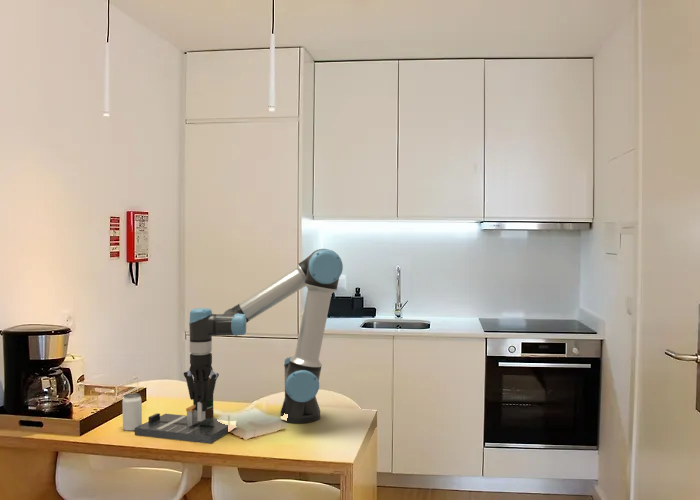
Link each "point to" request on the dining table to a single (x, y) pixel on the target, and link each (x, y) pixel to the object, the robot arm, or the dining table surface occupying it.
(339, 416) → the dining table surface
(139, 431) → the board
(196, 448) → the dining table surface
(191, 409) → the fader knob
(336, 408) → the dining table surface
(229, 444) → the dining table surface
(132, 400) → the can
